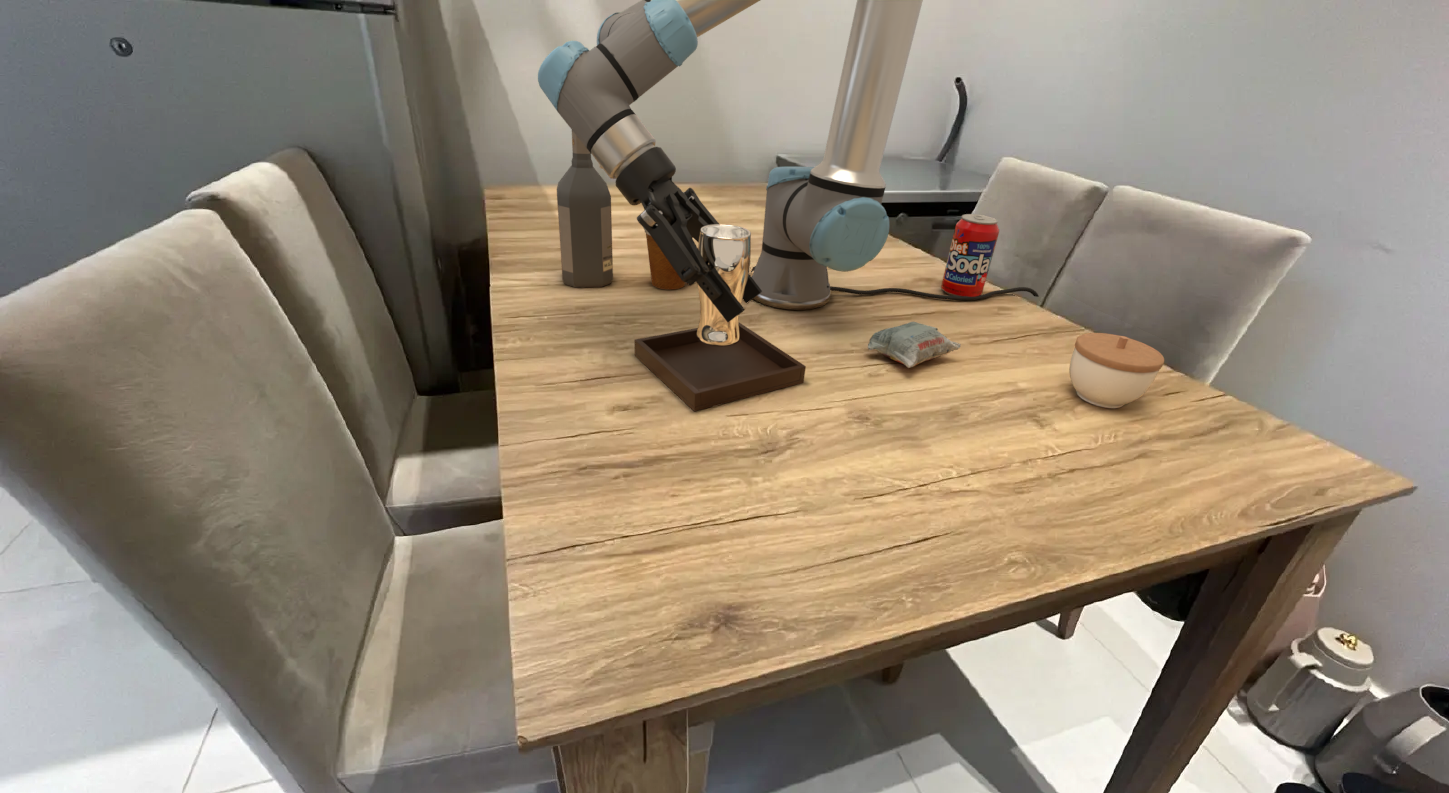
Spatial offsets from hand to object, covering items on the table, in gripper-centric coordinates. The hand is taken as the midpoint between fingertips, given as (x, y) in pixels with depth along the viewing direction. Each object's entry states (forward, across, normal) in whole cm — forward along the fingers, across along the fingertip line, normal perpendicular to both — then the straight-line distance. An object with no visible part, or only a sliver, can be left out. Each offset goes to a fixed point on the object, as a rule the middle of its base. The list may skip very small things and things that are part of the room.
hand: (745, 306), depth 84 cm
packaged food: (+23, -17, +8) cm, 30 cm away
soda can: (+27, -52, +13) cm, 61 cm away
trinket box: (+42, -16, +27) cm, 52 cm away
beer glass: (+2, 0, -6) cm, 7 cm away
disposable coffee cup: (-10, -29, -24) cm, 39 cm away
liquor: (-20, -24, -34) cm, 46 cm away
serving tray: (+5, 0, -10) cm, 11 cm away
